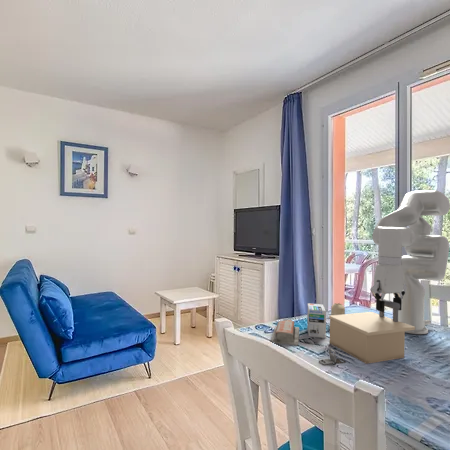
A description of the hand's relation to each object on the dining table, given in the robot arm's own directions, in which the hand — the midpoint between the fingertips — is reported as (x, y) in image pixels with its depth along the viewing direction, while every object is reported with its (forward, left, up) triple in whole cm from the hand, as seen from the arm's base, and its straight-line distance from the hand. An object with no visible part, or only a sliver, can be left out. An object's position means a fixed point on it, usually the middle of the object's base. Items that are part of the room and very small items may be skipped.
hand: (388, 309), depth 115 cm
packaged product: (+30, -21, -14) cm, 39 cm away
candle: (+2, -24, -14) cm, 28 cm away
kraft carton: (+10, 0, -13) cm, 17 cm away
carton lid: (+8, 0, -4) cm, 10 cm away
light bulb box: (+16, -20, -14) cm, 29 cm away
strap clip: (+28, +5, -14) cm, 32 cm away
